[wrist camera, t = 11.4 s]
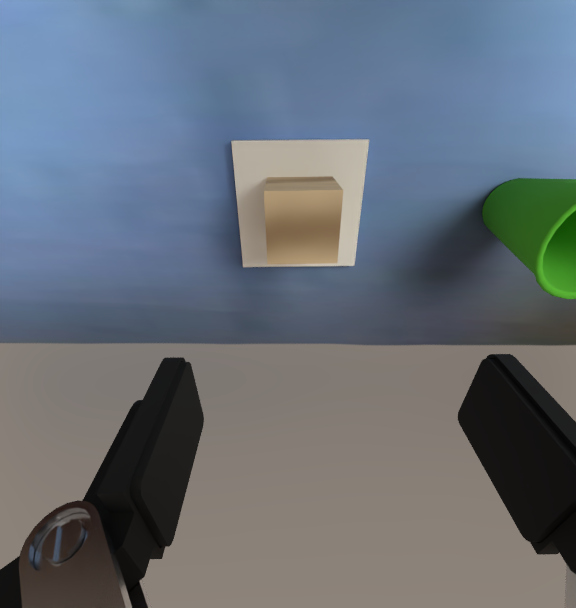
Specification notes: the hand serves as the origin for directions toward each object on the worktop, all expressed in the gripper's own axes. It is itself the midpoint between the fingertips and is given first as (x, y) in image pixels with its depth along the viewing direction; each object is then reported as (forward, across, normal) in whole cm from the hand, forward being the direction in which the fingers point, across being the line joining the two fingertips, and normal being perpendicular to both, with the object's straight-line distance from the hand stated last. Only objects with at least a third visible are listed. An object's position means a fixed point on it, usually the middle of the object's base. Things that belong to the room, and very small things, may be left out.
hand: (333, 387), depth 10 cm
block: (+23, 0, 0) cm, 23 cm away
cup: (+24, -21, 0) cm, 32 cm away
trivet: (+24, 0, 0) cm, 24 cm away
